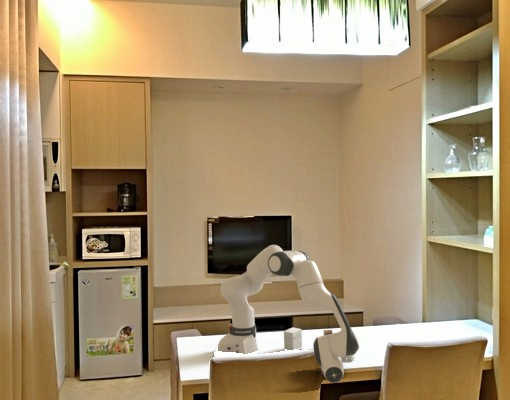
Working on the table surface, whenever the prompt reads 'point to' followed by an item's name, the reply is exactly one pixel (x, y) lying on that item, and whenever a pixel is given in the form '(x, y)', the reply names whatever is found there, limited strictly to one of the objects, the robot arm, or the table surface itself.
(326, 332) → the peg
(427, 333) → the table surface
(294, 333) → the small box
